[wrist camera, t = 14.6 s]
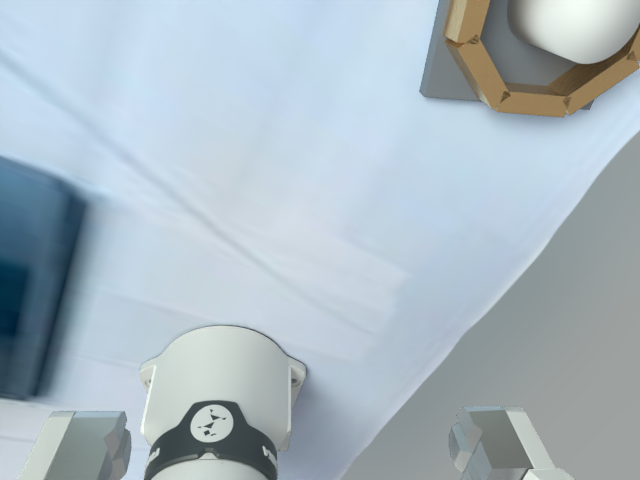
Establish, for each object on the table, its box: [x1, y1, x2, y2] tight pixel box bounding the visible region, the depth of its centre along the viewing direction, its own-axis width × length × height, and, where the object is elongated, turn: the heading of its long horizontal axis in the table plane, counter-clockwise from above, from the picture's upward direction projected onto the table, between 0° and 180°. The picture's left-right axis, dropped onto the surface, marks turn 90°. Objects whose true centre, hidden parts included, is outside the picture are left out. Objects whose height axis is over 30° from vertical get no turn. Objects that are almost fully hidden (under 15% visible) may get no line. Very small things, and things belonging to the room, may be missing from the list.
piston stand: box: [420, 0, 640, 110], centre depth 29 cm, size 14×14×8 cm
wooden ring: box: [443, 0, 640, 117], centre depth 31 cm, size 14×14×3 cm
